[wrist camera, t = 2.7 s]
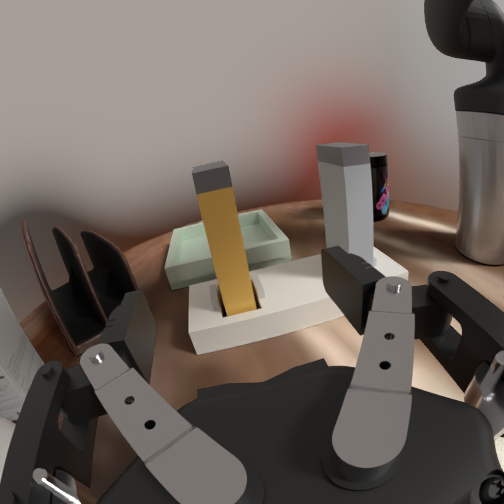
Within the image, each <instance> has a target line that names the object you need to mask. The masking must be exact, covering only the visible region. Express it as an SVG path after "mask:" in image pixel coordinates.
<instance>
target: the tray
mask: <svg viewBox="0 0 504 504" xmlns="http://www.w3.org/2000/svg"><path fill="white" fill-rule="evenodd" d="M238 218H239V223H240V228H241V233H242V238H243V243H244V248H245V253H246V258H247V263H248V268H249V271H253V270H258V269H262V268H266V267H270V266H274V265H278V264H282V263H286V262H290V261H292V260H291V252H290V244H289V239H288V238H287V237H286V236H285V234H284V233H283V232H282V231H281V230H280V229H279V228H278V226H277V225H276V224H275V223H274V222H273V221H272V220H271V219H270V217H269V216H268V215H267V214H266V213H265V212H264V211H263V210H262V209H261V210H256V211H252V212H247V213H242V214H238ZM164 269H165V272H166V275H167V278H168V281H169V284H170V287H171V289H172V290H175V289H180V288H184V287H189V285H194V284H198V283H202V282H207V281H211V280H215V279H217V276H216V272H215V268H214V264H213V260H212V256H211V253H210V248H209V244H208V240H207V236H206V232H205V228H204V224H203V223H199V224H194V225H190V226H186V227H182V228H178V229H174V231H173V235H172V239H171V243H170V247H169V251H168V255H167V259H166V264H165V268H164Z"/></svg>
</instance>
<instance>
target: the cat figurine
mask: <svg viewBox="0 0 504 504" xmlns="http://www.w3.org/2000/svg"><path fill="white" fill-rule="evenodd" d="M15 426H16V424H15V423H13V422H12V421H10V420H8V419H6V418H4V417H1V416H0V481H1V476H2V472H3V468H4V464H5V460H6V456H7V452H8V448H9V445H10V442H11V438H12V435H13V432H14V429H15Z"/></svg>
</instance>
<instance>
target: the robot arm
mask: <svg viewBox="0 0 504 504" xmlns="http://www.w3.org/2000/svg"><path fill="white" fill-rule="evenodd" d="M424 12H425V13H424V14H425V23H426V28H427V32H428V35H429V37H430V39H431V41H432V43H433V45H434V46H435V47H436V48H437V49H438V50H439V51H440V52H441V53H443V54H445V55H447V56H451V57H454V58H461V59H467V60H475V61H481V62H485V63H486V76H485V77H484V78H483V79H482V80H480V81H478V82H476V83H473V84H469V85H465V86H462V87H459V88H457V89H456V90H455V92H454V102H455V110H456V117H457V128H458V141H459V174H460V177H459V178H460V179H459V207H458V219H457V231H456V240H455V246H456V248H457V249H458V250H459V252H460V253H462V254H463V255H464V256H466V257H468V258H470V259H472V260H475V261H477V262H481V263H485V264H491V265H502V264H504V14H503V12H502V11H501V9H500V8H499V6H498V5H497V4H496V3H495V2H494V1H492V0H425V3H424ZM321 260H322V276H323V285H324V288H325V291H326V293H327V294H328V295H329V297H330V298H331V299H332V300H333V302H334V303H335V304H336V305H337V307H338V308H339V309H340V310H341V312H342V313H343V314H344V315H345V317H346V318H347V319H348V321H349V322H350V323H351V324H352V326H353V327H354V328H355V329H356V331H357V332H358V333H359V335H363V334H364V337H363V341H362V345H361V349H360V353H359V357H358V360H357V364H356V368H355V367H349V366H328V365H327V363H326V361H325V360H324V358H323V359H320V360H317V361H313V362H310V363H307V364H304V365H300V366H297V367H293V368H291V369H290V370H288V371H286V372H284V373H281V374H279V375H277V376H275V377H273V378H271V379H269V380H267V381H264V382H258V383H228V384H223V385H218V386H213V387H208V388H202V389H197V392H198V399H196V400H194V401H192V402H190V403H188V404H186V405H184V406H183V407H181V408H180V409H179V410H177V411H175V410H174V409H173V408H172V407H171V406H170V405H169V404H168V403H167V402H166V401H165V400H164V399H163V398H162V397H161V396H160V395H159V394H158V393H157V392H156V391H155V390H154V389H153V388H152V387H151V386H150V377H151V369H152V361H153V354H154V347H155V341H156V334H157V327H156V322H155V319H154V317H153V314H152V312H151V309H150V307H149V304H148V302H147V299H146V296H145V294H144V292H143V291H142V290H138V291H134V292H129V293H126V294H125V296H124V298H123V301H122V303H121V305H120V306H117V307H116V308H115V309H114V310H113V311H112V312H111V314H110V316H109V319H108V322H107V323H106V326H105V327H106V328H104V331H103V333H102V336H101V338H100V341H99V344H97V345H94V346H92V347H90V348H89V349H87V350H86V351H85V352H84V353H83V355H82V356H81V359H80V364H79V365H77V366H74V367H71V368H68V369H66V370H65V368H64V367H63V365H62V364H61V362H59V361H50V362H47V363H45V364H44V365H42V366H41V367H40V368H39V369H38V370H37V372H36V374H35V376H34V379H33V381H32V383H31V386H30V388H29V391H28V393H27V396H26V398H25V401H24V403H23V406H22V409H21V411H20V414H19V417H18V420H17V423H16V426H15V429H14V432H13V435H12V438H11V442H10V445H9V448H8V452H7V456H6V460H5V464H4V468H3V472H2V476H1V481H0V504H504V472H503V470H502V468H501V466H500V463H499V461H498V457H497V453H496V448H495V442H494V441H495V440H496V439H498V438H499V437H504V312H502V311H501V310H500V309H499V308H498V307H496V306H495V305H494V304H493V303H491V302H490V301H489V300H488V299H486V298H485V297H484V296H483V295H481V294H480V293H479V292H477V291H476V290H475V289H474V288H472V287H471V286H470V285H468V284H467V283H466V282H464V281H463V280H462V279H460V278H459V277H457V276H456V275H455V274H453V273H450V272H446V271H436V272H433V273H431V274H430V275H429V277H428V283H427V285H420V286H411V284H410V282H409V281H408V280H406V279H404V278H401V277H396V276H390V277H386V276H384V275H383V274H382V273H381V272H379V271H378V270H377V269H376V268H374V267H372V265H371V264H369V263H368V262H367V261H366V260H364V259H363V258H362V257H360V256H358V255H355V254H352V253H349V254H348V253H347V252H346V251H345V250H343V249H342V248H341V247H340V246H334V247H330V248H325V249H322V251H321ZM452 316H453V317H454V318H455V319H456V320H457V321H458V322H459V323H460V325H461V328H462V336H461V335H460V334H459V333H458V332H457V331H456V330H455V329H454V328H453V327H452V326H451V325H450V323H451V320H452ZM414 339H420V340H421V341H422V342H423V343H424V345H425V346H426V347H427V348H428V349H429V351H430V352H431V353H432V354H433V355H434V356H435V358H436V359H437V360H438V361H439V362H440V364H441V365H442V366H443V367H444V369H445V370H446V371H447V372H448V373H449V375H450V376H451V377H452V378H453V380H454V381H455V382H456V383H457V385H458V386H459V387H460V389H461V390H462V391H463V392H464V401H465V402H461V401H458V400H454V399H451V398H447V397H444V396H440V395H437V394H434V393H430V392H427V391H424V390H421V389H418V388H414V387H411V384H412V372H413V358H414ZM60 412H61V413H62V414H63V416H64V420H63V424H62V429H61V432H60V430H59V427H58V416H59V413H60ZM107 413H108V414H109V416H110V417H111V419H112V420H113V422H114V423H115V425H116V426H117V427H118V429H119V430H120V432H121V433H122V434H123V436H124V437H125V438H126V440H127V441H128V443H129V444H130V445H131V446H132V448H133V449H134V450H135V452H136V453H137V454H138V456H137V457H136V458H135V459H134V460H133V461H132V463H131V464H130V465H129V466H128V467H127V468H126V469H125V471H124V472H123V473H122V474H121V475H120V476H119V477H118V478H117V480H116V481H115V482H114V483H113V484H112V485H111V486H110V487H109V488H108V490H107V491H106V492H105V493H104V494H103V495H102V496H101V497H100V498H99V500H98V501H97V499H96V496H95V494H94V493H93V491H92V490H91V489H90V481H91V468H92V458H93V449H94V440H95V433H96V426H97V419H98V416H101V415H104V414H107Z"/></svg>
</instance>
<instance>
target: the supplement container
mask: <svg viewBox="0 0 504 504" xmlns="http://www.w3.org/2000/svg"><path fill="white" fill-rule="evenodd" d="M369 155H370V166H371V180H372V197H373V221H380V220H383V219H385V218H386V217H387V216H388V215H389V182H388V163H387V154H386V153H381V152H369Z"/></svg>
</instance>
